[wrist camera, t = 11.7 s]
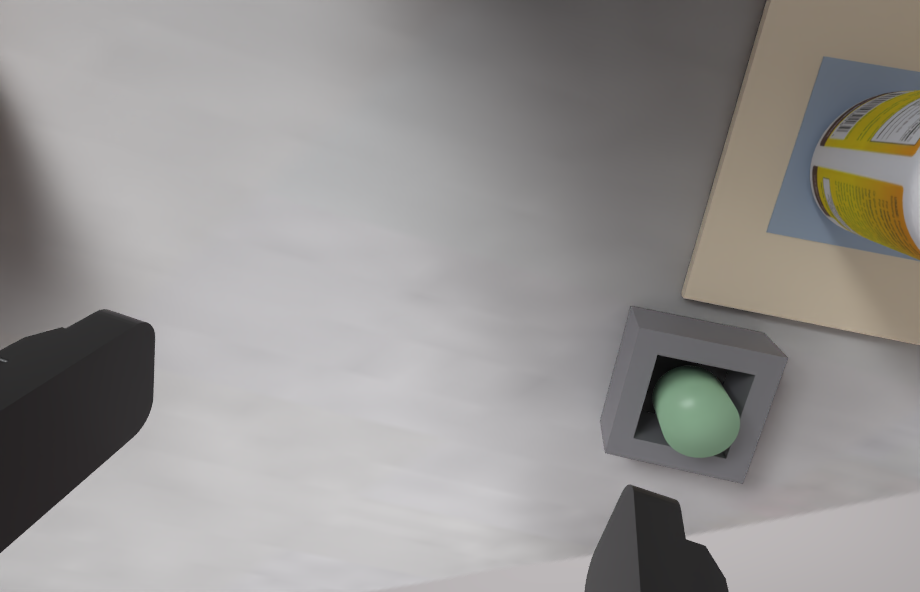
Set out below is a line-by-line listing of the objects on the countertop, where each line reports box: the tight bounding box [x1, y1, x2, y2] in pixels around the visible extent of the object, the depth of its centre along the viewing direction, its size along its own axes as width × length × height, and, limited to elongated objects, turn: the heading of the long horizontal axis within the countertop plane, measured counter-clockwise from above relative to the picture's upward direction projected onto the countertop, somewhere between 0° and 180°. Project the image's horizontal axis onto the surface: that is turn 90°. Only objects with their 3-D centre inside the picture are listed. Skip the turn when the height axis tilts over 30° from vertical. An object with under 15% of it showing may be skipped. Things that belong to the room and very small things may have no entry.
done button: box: [652, 366, 740, 458], centre depth 26 cm, size 3×3×2 cm
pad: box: [681, 0, 920, 345], centre depth 25 cm, size 13×12×1 cm
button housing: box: [600, 306, 788, 484], centre depth 28 cm, size 6×6×3 cm
